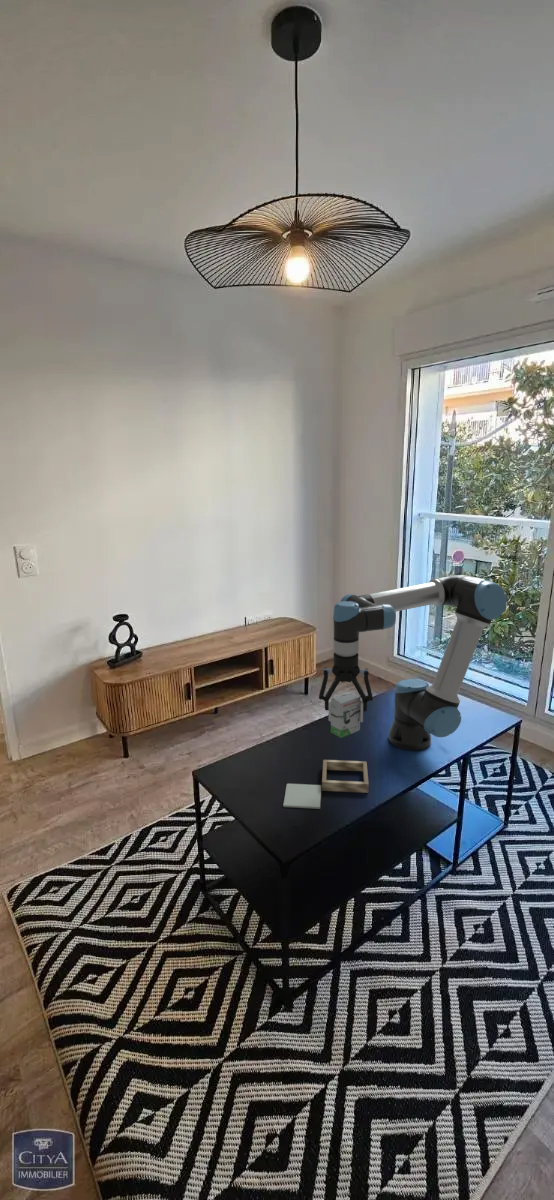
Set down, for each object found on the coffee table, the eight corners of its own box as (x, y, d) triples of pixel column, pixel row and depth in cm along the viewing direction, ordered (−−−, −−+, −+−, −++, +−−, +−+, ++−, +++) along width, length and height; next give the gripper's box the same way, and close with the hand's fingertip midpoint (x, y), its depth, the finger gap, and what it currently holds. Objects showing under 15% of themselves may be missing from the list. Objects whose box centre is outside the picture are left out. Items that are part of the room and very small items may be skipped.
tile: (321, 786, 163) (321, 785, 163) (320, 808, 153) (320, 807, 153) (286, 785, 165) (286, 783, 164) (283, 806, 154) (283, 805, 154)
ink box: (340, 738, 158) (340, 703, 155) (330, 732, 162) (329, 698, 159) (360, 730, 163) (361, 695, 160) (349, 724, 167) (350, 690, 164)
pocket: (366, 769, 172) (366, 761, 171) (368, 792, 160) (368, 784, 159) (323, 767, 174) (323, 759, 173) (322, 790, 161) (322, 782, 161)
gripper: (381, 648, 158) (380, 715, 164) (310, 647, 161) (311, 713, 166) (383, 657, 151) (381, 726, 157) (309, 656, 154) (310, 724, 159)
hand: (345, 719), depth 161 cm, fingers closed on ink box, 9 cm apart
